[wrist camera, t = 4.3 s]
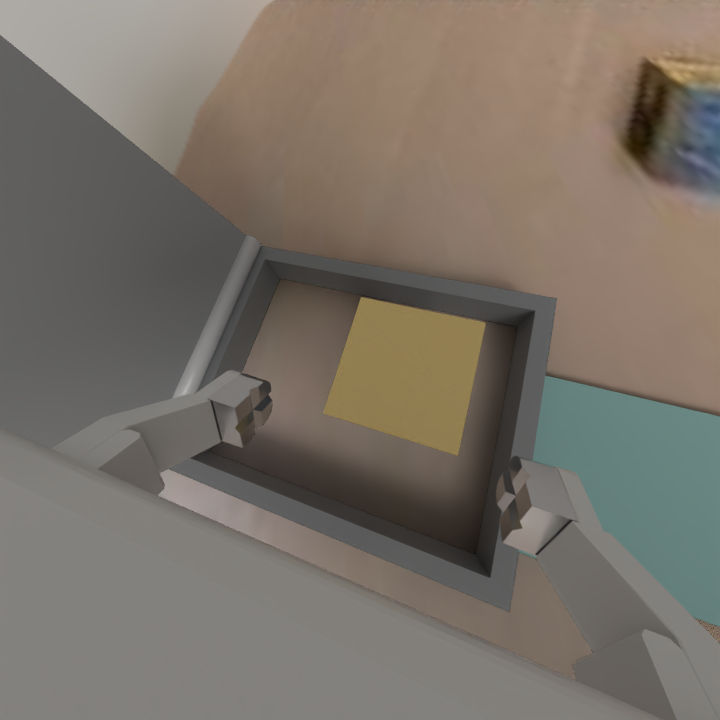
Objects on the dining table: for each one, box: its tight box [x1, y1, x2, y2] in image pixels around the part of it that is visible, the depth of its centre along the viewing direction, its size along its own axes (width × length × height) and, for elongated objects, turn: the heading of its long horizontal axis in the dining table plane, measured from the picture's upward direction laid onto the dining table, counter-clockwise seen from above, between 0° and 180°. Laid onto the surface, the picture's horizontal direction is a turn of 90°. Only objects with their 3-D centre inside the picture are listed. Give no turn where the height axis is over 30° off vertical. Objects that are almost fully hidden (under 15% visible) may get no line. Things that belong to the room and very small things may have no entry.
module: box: [323, 297, 486, 456], centre depth 13 cm, size 4×4×10 cm
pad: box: [519, 375, 720, 627], centre depth 15 cm, size 10×10×1 cm
